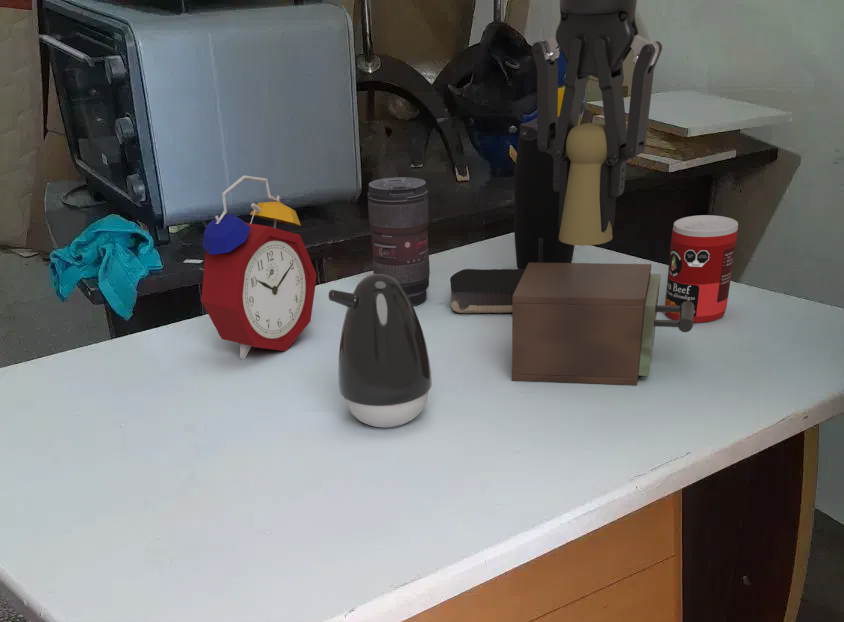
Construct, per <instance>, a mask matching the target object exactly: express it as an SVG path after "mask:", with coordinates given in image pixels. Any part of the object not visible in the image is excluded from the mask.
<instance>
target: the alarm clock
mask: <svg viewBox="0 0 844 622" xmlns="http://www.w3.org/2000/svg"><path fill="white" fill-rule="evenodd" d="M243 181H251V182H260V183H265V187H266V192H267V198H268V199H269V200H272V201H263V202H258V203H257V204H256V203H255V202H252V203H251V204H250V206H251V208H252V209H253V210H252V211H251V212H250V213H249V215H250V216H252V217H251V219H250V222H245V221H244V220H243V219H241V218H240V217H238V216H236V215H235V214H234V213H229V214H227V213H228V208H227V199H226V196H227V195H228V194H229V193H231V192H232V191H233V190H234V189H235V188H236V187H237V186H239V185H240V184H241V183H242V182H243ZM221 194H222V203H223V212H222V213H221V215H215V217H214V219H213V220H211V221H210V222H208V223H207V225H206V227H205V229H204V232H203V237H202V249H203V250H204V251H205V256H204V268H201V267H199V268H198V269H199V270H201V271H203V277H202V287H201V288H202V290H201V298H200V299H201V301H200V302H201V304H202V305H203V307H204V309H205V311H206V313H207V315H208V316H209V318H210V320H211V323H212V325H213V326H214V327H215V329H216V332H217V333H218V335H219V337H220V339H221V340H225V341H228V342H232V343H237V344H239V359H240V360H243V361H244V360H245V359H246V358H247V356H248V353H249V352H250V350H251V348H252V347H253V348H260V349H267V350H273V351H274V350H275V351H281V352H282V351H283V352H287V350H288V349H289V348H290V347H291V346H292V345H293V343H294V342H295V341H296V340H297V338H298V337H300V335H301V334H302V333H303V331H304V330H305V329H306V328H307V326H308V325H309V324H310V323H311V321H312V315H313V306H314V298H315V291H316V284H317V277H318V276H317V275H318V274H317V271H316V269H315V266H314V265H313V262H312V260H311V257H310V255H309V253H308V250H307V248H306V245H305V243H304V240H303V238H302V236H301V234H298V233H295V232H291V231H288V230H283V229H280V228H277V223H281V224H286V225H291V226H302V224H301V221H300V220H299V219H300V218H299V217H298V214H297V211H296V210H295V209H293V208H292V207H289V206H287V205H286V204H284V203H282V202H281V201H280V195H276V197H275V196H273V195H271V190H270V185H269V180H268V178H265V177H259V176H251V175H245V174H244V175H242V176H241V177H240V178H238V179H237V180H236V181H235V182H234V183H232V184H231V185H230V186H229V187H228V188H226V189H225V190H224V191H223V192H222V193H221ZM254 217H255V218H259V219H263V220H267V221H272V222H273V226H269V225H263V224H257V223H253V220H254Z"/></svg>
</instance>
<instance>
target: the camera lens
mask: <svg viewBox="0 0 844 622" xmlns="http://www.w3.org/2000/svg"><path fill="white" fill-rule="evenodd" d="M367 210H368V222H369V228H370V231H371V232H370V233H371V249H372V273H373V274H386V275H389V276H391V277H393V278H394V279H396V280H397V281H398V282H399V283H400V285H401V286H402V287H403V289H404V290H405V292H406V294H407V295H408V297H409V299H410V301H411V303H412V305H413V307H414V306H418V305H420V304H422V303H424V302H426V300H427V293H428V292H427V290H428V288H429V286H430V274H431V272H430V270H431V269H430V256H429V236H428V233H429V232H428V229H429V228H428V227H429V191H428V188H427V182H426V181H425V179H422V178H418V177H410V176H409V177H406V176H401V177H400V176H399V177H398V176H397V177H384V178H378V179H374V180H371V181H370V182H369V183H368V192H367Z"/></svg>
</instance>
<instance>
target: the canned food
mask: <svg viewBox="0 0 844 622" xmlns="http://www.w3.org/2000/svg"><path fill="white" fill-rule="evenodd" d="M671 232H672V233H671V239H670V249H669V261H668V269H667V278H666V279H667V280H666V290H665V300H664V305H669V306H680V307H681V305H682V303H683V302H685V301H691V302H692V303H693V304H694V318H693V324H701V323H709V322H713V321H717V320H719V319H720V318H722V317H723V316H724V315H725V312H726V310H727V306H728V301H729V294H730V293H729V292H730V286H731V280H732V279H731V278H732V273H733V267H734V260H735V253H736V246H737V239H738V232H739V222H738V221H737V220H735V219H734V218H731V217H727V216H722V215H712V214H709V215H708V214H702V215H701V214H700V215H691V216H685V217H681V218H679V219H677V220H675V221H674V222H673V227H672V231H671ZM665 315H666V316H667V317H668V318H669V319H670V320H679V315H680V312H665Z"/></svg>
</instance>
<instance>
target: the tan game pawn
mask: <svg viewBox="0 0 844 622" xmlns="http://www.w3.org/2000/svg"><path fill="white" fill-rule="evenodd" d="M566 151H567V155H568V157H569V159H570V161H571V162H570V169H569V175H568V182H567V189H566V196H565V202H564V208H563V215H562V221H561V227H560V233H559V240H560V241H561V242H563V243H566V244H571V245H575V246H584V247H585V246H596V245H603V244H606V243H608V242H610V241H612V240H613V237H614V236H613V227H611V224H610V221H609V223H608V227H607V230H606V231H605V232H601V216H600V198H599V196H600V180H601V164H603V163H605V162H606V160H607V159H609V157H608V147H607V138H606V128H605V123H600V122H599V123H598V122H588V123H582V124H577V126H575V127H574V128H572V129H571V130H570V132H569V133H568V136H567V140H566Z"/></svg>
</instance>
